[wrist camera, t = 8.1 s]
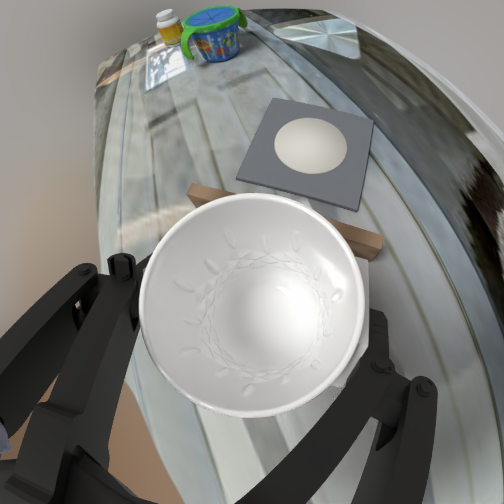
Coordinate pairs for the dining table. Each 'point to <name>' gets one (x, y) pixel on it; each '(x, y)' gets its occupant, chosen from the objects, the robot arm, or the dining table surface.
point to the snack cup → (214, 32)
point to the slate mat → (310, 153)
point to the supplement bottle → (169, 28)
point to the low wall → (357, 239)
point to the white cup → (251, 305)
